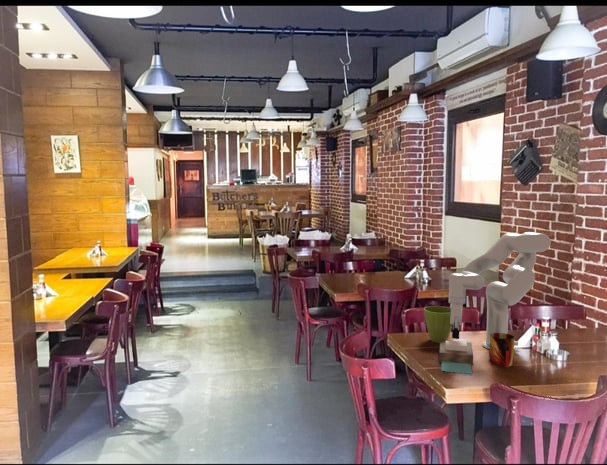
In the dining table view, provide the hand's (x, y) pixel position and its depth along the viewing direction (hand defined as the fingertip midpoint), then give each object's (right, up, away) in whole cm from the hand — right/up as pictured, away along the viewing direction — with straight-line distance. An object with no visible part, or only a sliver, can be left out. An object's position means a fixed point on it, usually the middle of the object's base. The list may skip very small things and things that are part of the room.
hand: (455, 338), depth 235 cm
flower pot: (-4, -5, +14) cm, 15 cm away
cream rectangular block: (-3, -2, -11) cm, 12 cm away
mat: (-7, -7, -25) cm, 27 cm away
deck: (-3, -6, -9) cm, 11 cm away
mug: (+15, -7, -20) cm, 26 cm away
